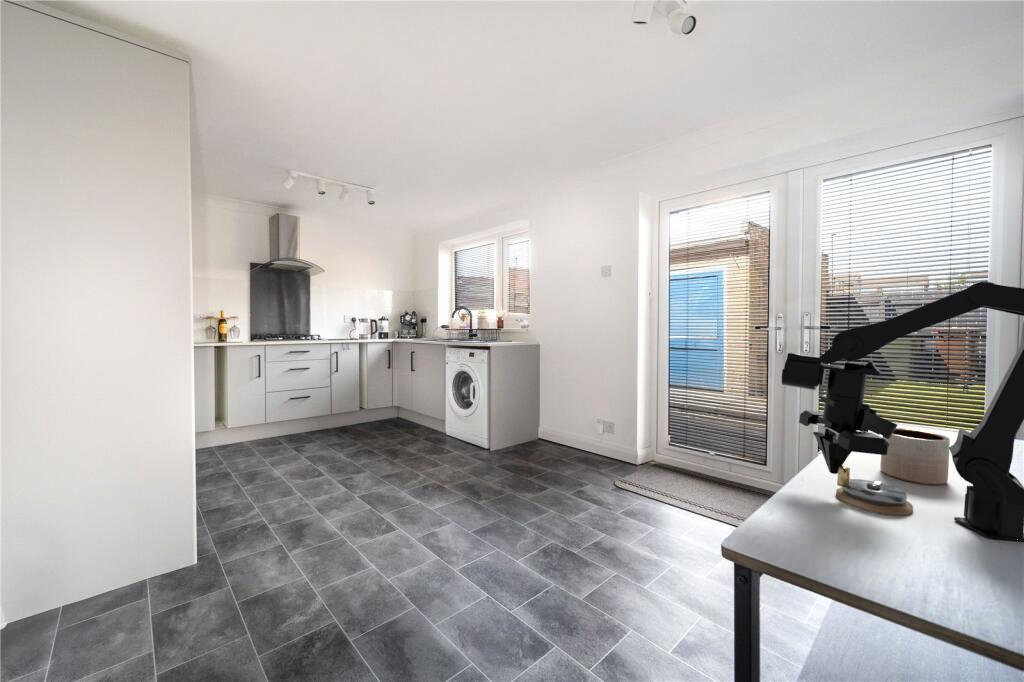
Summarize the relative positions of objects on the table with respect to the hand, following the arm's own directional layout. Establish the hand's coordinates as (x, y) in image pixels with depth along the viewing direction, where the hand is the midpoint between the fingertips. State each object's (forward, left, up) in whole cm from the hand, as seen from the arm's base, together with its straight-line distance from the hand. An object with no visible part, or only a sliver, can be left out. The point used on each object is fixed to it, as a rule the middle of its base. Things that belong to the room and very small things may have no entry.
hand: (833, 473), depth 84 cm
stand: (-2, -6, -4) cm, 7 cm away
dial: (-2, -6, -3) cm, 7 cm away
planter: (+15, -24, -5) cm, 28 cm away
